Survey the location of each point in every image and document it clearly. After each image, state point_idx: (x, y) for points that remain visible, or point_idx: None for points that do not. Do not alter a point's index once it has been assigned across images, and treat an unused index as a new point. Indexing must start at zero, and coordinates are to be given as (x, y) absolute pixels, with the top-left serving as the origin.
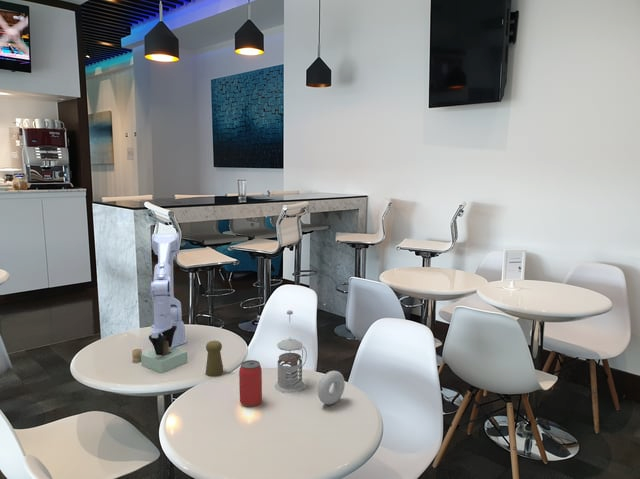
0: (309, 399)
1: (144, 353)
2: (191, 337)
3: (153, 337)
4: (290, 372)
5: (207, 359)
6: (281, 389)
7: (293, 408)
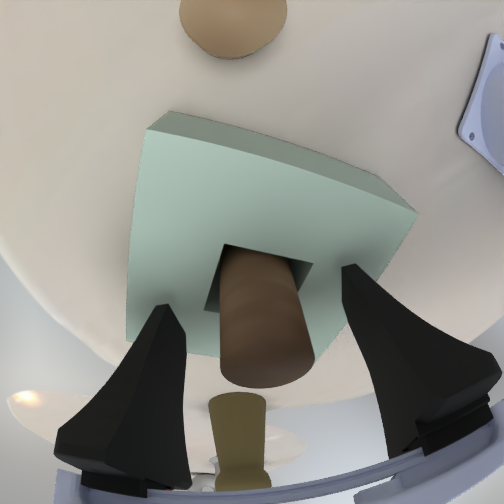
0: (205, 468)
1: (183, 141)
2: None
3: (69, 477)
4: None
5: (220, 446)
6: (212, 461)
7: None
